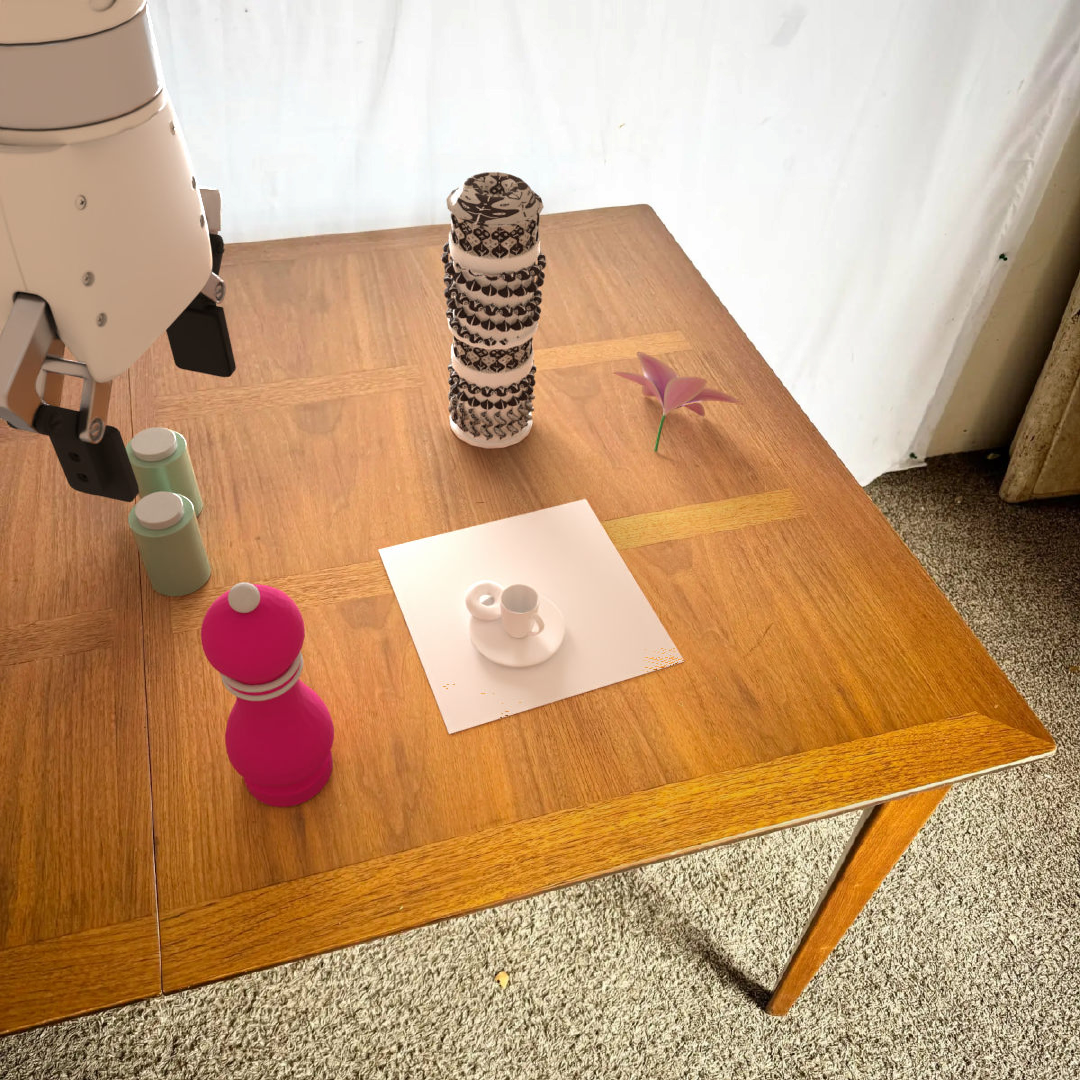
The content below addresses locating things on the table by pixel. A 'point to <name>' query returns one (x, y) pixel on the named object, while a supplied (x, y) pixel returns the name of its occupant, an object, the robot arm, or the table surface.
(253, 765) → the pepper mill
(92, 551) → the table surface
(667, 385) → the lily
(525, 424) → the patterned beaded cylinder
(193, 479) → the shaker far
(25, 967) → the table surface
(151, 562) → the shaker mid
